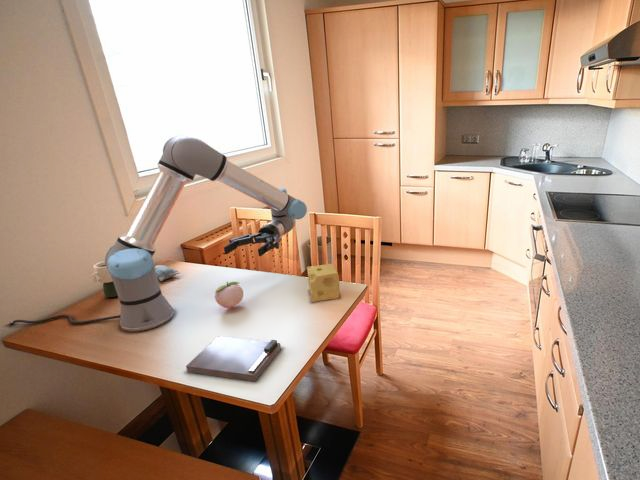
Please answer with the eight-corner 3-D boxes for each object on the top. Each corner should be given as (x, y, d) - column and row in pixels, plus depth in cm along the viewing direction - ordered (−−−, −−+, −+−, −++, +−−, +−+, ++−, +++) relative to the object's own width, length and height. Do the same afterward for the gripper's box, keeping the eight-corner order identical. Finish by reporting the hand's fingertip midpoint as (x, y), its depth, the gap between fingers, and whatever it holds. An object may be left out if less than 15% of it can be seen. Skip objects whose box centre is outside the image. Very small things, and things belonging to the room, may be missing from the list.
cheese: (311, 303, 133) (308, 277, 129) (308, 289, 143) (305, 265, 139) (340, 298, 136) (338, 273, 132) (336, 285, 145) (334, 261, 141)
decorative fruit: (231, 316, 126) (225, 289, 122) (213, 311, 130) (207, 285, 126) (251, 303, 134) (247, 278, 130) (234, 299, 137) (229, 274, 134)
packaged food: (167, 270, 164) (164, 260, 162) (181, 277, 157) (178, 266, 155) (146, 278, 157) (142, 267, 155) (160, 285, 151) (157, 274, 149)
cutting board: (187, 372, 100) (184, 362, 99) (219, 341, 113) (217, 332, 112) (255, 381, 96) (253, 371, 95) (281, 348, 109) (279, 339, 107)
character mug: (122, 287, 150) (112, 257, 145) (135, 290, 147) (125, 259, 142) (94, 300, 140) (83, 268, 135) (107, 303, 138) (96, 270, 133)
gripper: (300, 242, 153) (275, 263, 134) (245, 240, 158) (213, 259, 139) (298, 224, 150) (272, 243, 131) (242, 222, 156) (209, 240, 136)
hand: (242, 251), depth 135 cm, fingers open, 13 cm apart
